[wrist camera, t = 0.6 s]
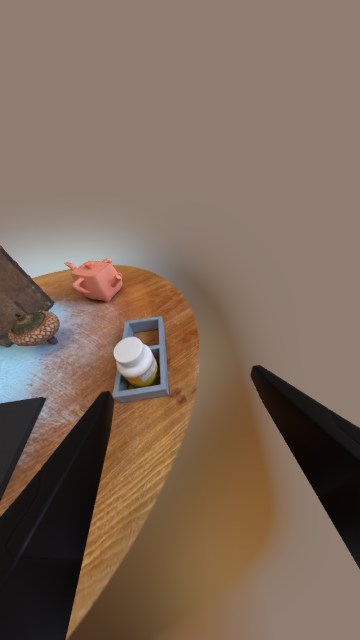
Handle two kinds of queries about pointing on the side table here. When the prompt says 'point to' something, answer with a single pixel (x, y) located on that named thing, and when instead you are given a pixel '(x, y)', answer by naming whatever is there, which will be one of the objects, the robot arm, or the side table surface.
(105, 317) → the side table surface
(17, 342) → the acorn
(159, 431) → the side table surface
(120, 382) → the holder
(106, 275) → the teapot
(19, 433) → the mat
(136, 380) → the supplement bottle
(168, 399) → the side table surface
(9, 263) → the book
